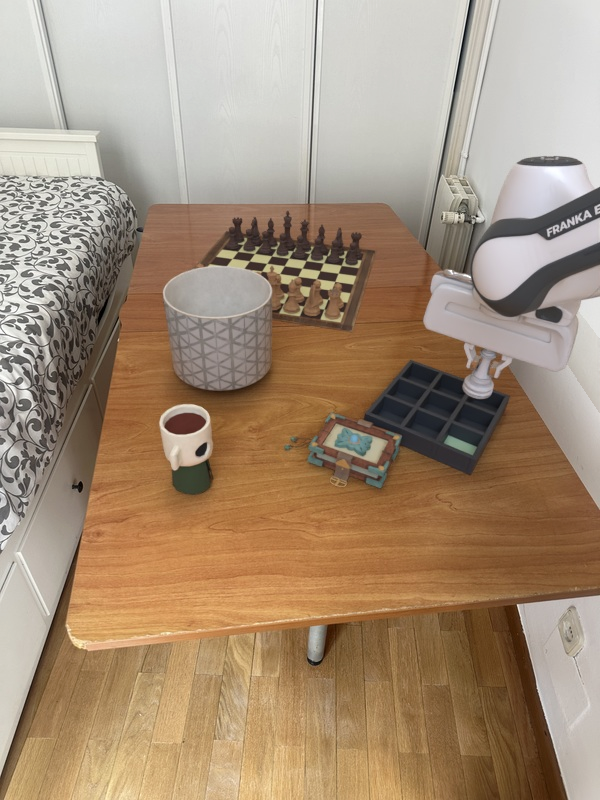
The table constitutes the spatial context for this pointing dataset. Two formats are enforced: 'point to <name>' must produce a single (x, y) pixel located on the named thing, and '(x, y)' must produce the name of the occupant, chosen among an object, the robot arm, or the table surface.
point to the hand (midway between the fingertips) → (482, 371)
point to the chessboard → (300, 272)
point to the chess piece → (480, 377)
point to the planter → (219, 326)
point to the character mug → (188, 446)
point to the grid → (438, 415)
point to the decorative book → (353, 449)
